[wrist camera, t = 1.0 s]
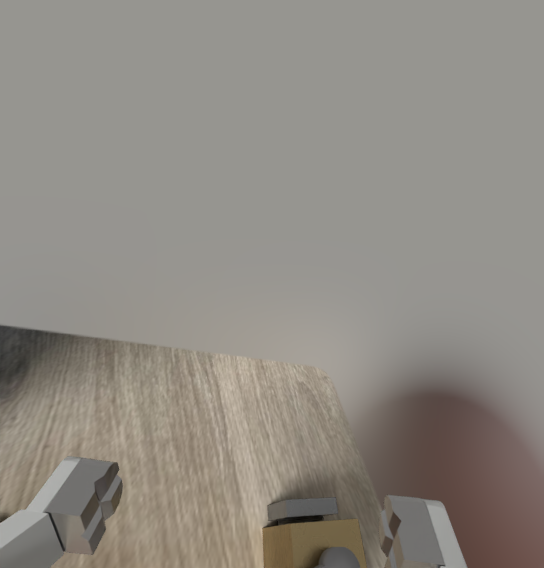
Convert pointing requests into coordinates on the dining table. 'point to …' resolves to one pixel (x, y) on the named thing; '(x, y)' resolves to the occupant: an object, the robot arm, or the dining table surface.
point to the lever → (338, 558)
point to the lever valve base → (307, 533)
